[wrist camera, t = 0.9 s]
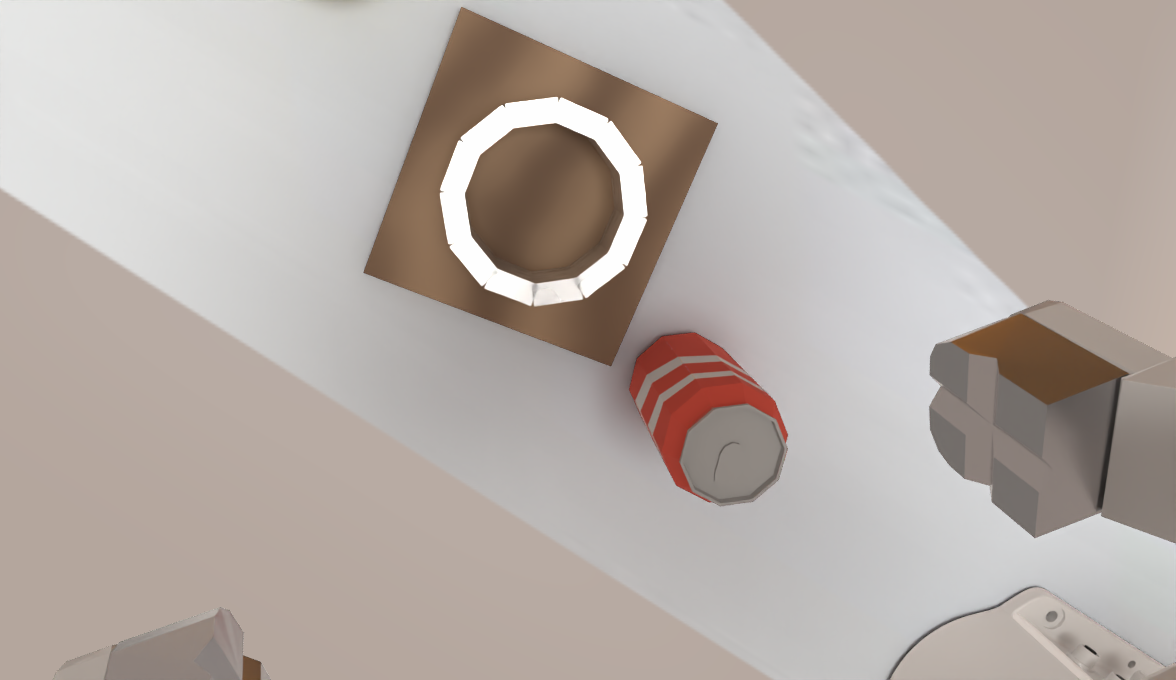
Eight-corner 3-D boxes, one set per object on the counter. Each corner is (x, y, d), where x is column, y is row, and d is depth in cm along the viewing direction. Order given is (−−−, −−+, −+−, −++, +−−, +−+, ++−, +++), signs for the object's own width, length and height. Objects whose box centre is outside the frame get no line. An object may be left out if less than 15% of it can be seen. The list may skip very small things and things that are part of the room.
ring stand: (713, 123, 49) (717, 123, 48) (608, 361, 52) (611, 366, 51) (461, 9, 46) (461, 7, 45) (365, 269, 49) (363, 272, 48)
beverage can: (618, 420, 53) (657, 507, 41) (643, 320, 51) (689, 381, 40) (713, 436, 54) (776, 526, 42) (739, 338, 52) (812, 404, 41)
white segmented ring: (663, 146, 48) (677, 149, 44) (590, 316, 50) (598, 332, 46) (486, 68, 46) (487, 65, 42) (418, 249, 48) (413, 260, 44)
